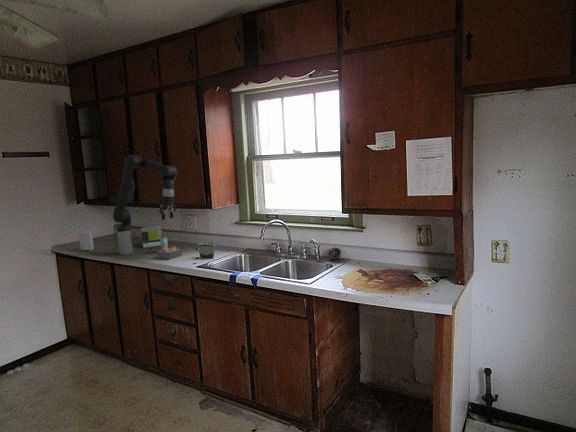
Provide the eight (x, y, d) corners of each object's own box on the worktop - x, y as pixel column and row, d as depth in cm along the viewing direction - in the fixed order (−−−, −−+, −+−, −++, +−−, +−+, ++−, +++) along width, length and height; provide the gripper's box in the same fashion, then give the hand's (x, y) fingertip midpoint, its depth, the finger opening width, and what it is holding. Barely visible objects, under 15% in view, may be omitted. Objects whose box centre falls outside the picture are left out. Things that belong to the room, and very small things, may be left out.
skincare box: (94, 248, 314) (92, 230, 312) (91, 250, 308) (89, 232, 306) (83, 249, 313) (80, 231, 310) (80, 251, 307) (77, 232, 305)
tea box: (161, 243, 323) (159, 225, 321) (163, 245, 314) (161, 227, 312) (142, 245, 317) (140, 227, 315) (143, 248, 308) (141, 229, 306)
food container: (219, 256, 268) (217, 242, 266) (215, 258, 262) (213, 244, 261) (202, 256, 271) (201, 242, 270) (198, 258, 265) (197, 243, 264)
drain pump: (159, 252, 288) (158, 236, 286) (165, 251, 292) (163, 235, 291) (164, 253, 286) (163, 237, 284) (169, 251, 290) (168, 235, 288)
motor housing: (157, 258, 270) (156, 249, 270) (170, 254, 281) (169, 245, 280) (169, 259, 265) (168, 250, 264) (181, 255, 276) (181, 246, 275)
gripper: (170, 194, 273) (169, 217, 275) (156, 195, 260) (155, 219, 262) (179, 195, 271) (178, 218, 273) (166, 196, 257) (165, 220, 260)
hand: (167, 219), depth 267 cm, fingers open, 8 cm apart
